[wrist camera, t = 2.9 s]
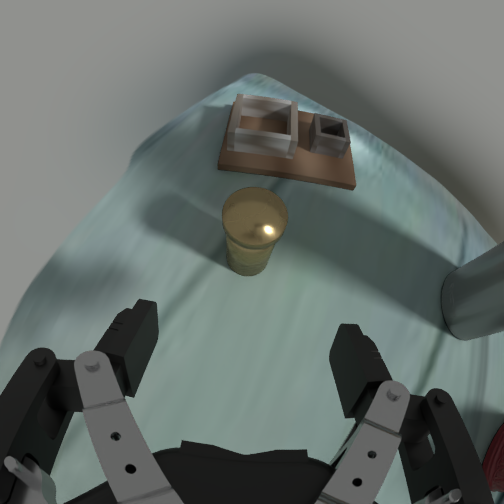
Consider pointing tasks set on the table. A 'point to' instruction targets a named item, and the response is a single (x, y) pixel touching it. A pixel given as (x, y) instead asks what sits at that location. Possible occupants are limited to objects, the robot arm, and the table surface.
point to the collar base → (287, 143)
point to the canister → (495, 462)
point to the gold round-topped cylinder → (252, 228)
